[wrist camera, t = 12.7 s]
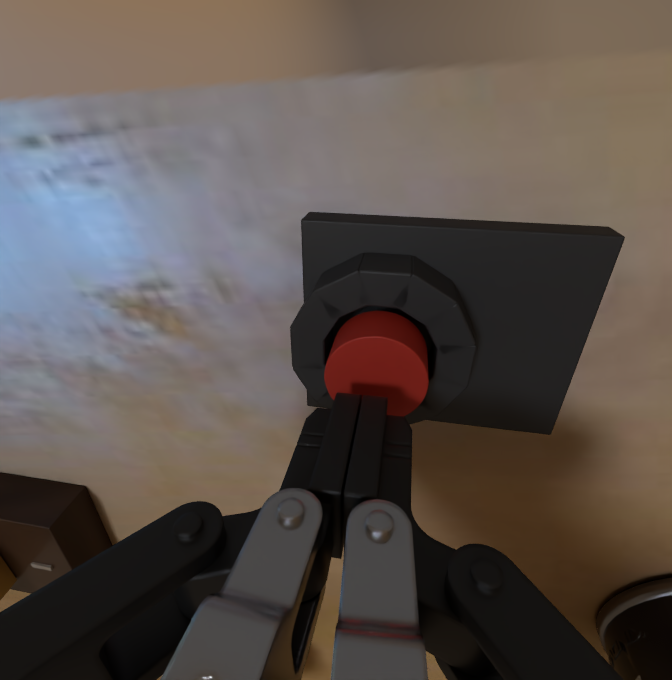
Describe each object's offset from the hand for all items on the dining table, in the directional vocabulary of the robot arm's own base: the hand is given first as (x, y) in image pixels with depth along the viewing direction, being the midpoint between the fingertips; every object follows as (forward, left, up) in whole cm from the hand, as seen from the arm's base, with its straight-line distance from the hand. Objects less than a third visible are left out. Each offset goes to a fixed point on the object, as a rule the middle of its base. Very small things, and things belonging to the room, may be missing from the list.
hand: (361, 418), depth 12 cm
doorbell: (-2, -1, -5) cm, 6 cm away
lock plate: (+24, +17, -5) cm, 30 cm away
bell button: (0, -1, -3) cm, 3 cm away
